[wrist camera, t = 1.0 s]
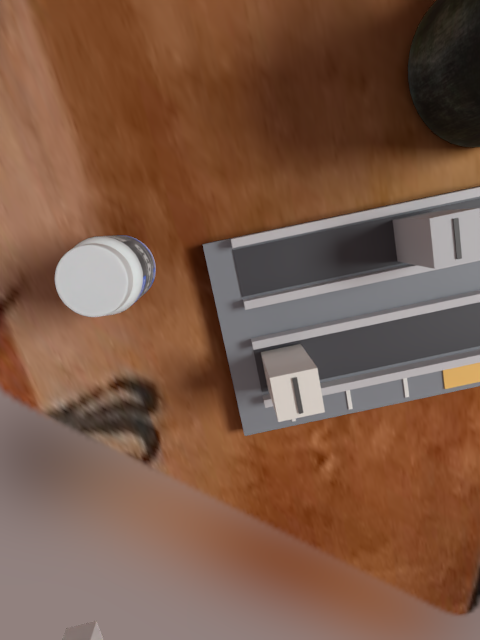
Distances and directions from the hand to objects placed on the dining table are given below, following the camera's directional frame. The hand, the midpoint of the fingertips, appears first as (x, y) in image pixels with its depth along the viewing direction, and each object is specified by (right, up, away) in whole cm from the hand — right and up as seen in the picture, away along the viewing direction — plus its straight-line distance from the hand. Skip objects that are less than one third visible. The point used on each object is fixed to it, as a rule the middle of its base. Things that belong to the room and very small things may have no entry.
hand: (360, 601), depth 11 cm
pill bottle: (-12, +11, +21) cm, 26 cm away
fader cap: (0, +4, +21) cm, 21 cm away
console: (+6, +8, +22) cm, 24 cm away
